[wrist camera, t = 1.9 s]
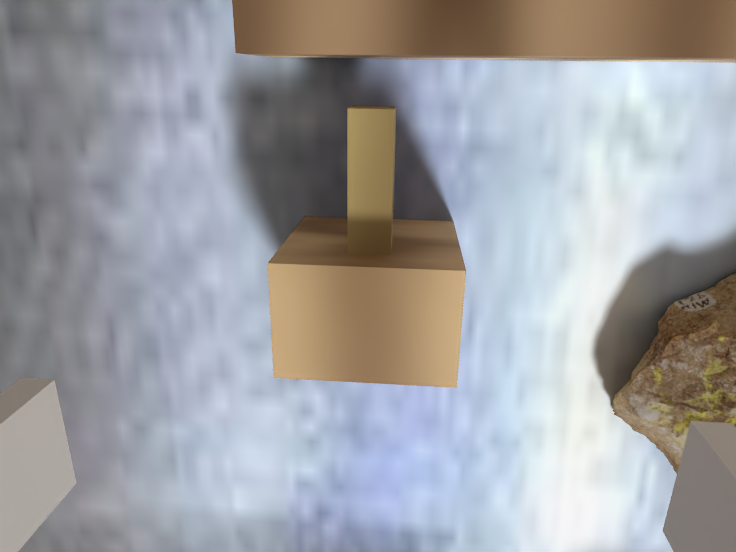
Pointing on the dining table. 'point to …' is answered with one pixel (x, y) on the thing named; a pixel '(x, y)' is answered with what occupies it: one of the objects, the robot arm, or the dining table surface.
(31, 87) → the dining table surface
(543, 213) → the dining table surface
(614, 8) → the board
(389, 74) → the dining table surface
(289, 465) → the dining table surface
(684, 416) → the rock
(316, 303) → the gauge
